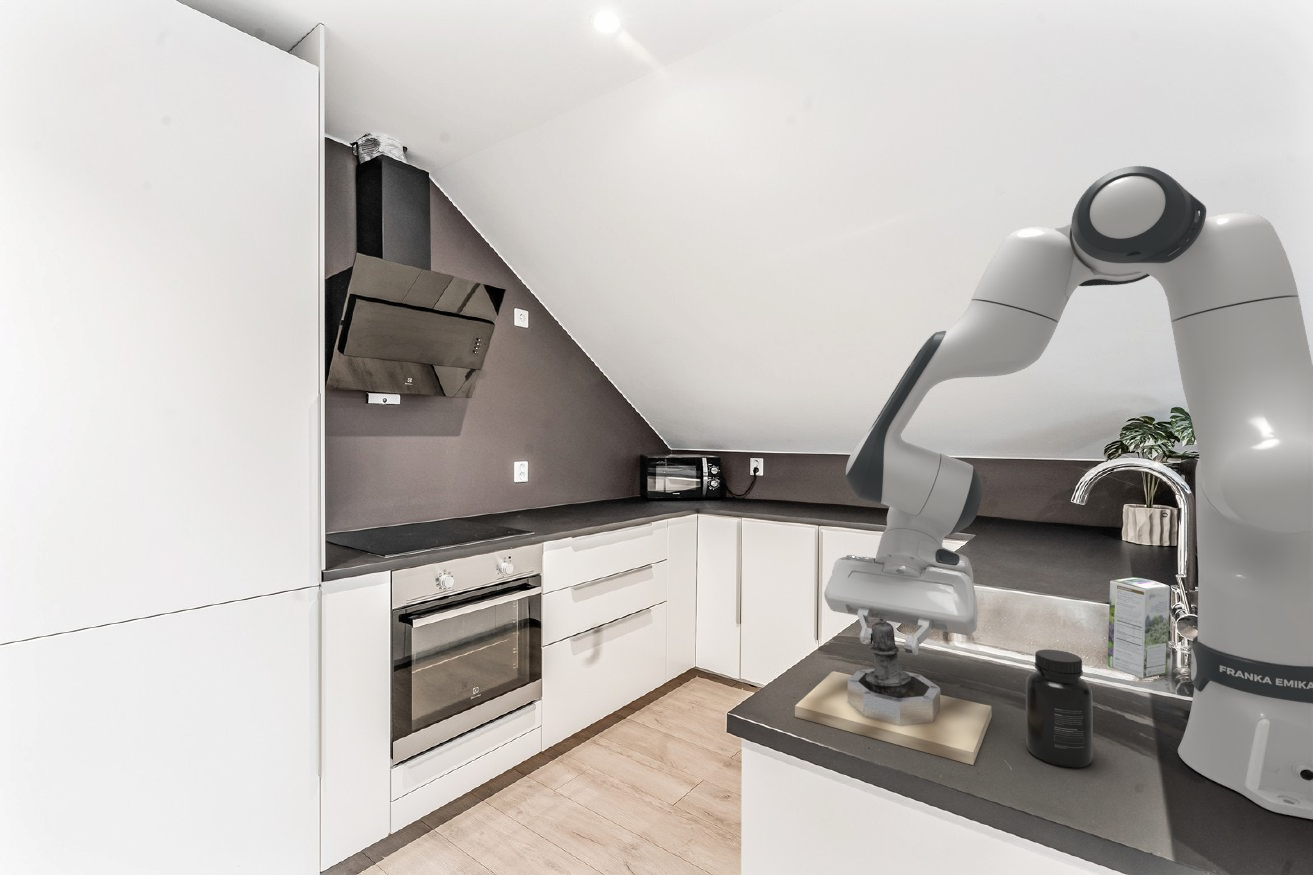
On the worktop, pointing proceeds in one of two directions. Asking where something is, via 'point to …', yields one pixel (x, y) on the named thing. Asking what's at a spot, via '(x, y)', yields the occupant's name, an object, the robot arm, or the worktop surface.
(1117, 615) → the syrup box
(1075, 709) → the supplement bottle
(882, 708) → the metal collar
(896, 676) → the dark grey turned piece
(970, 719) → the carrier plate
